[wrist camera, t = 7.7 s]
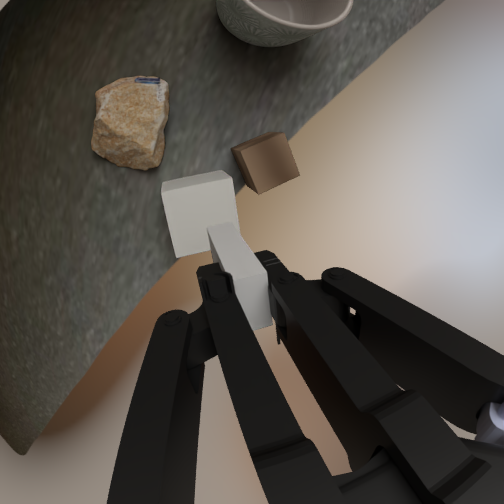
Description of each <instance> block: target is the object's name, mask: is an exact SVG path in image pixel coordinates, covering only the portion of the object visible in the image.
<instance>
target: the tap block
mask: <svg viewBox="0 0 504 504" xmlns="http://www.w3.org/2000/svg"><path fill="white" fill-rule="evenodd" d="M161 195H162V200H163V204H164V209H165V213H166V218H167V222H168V226H169V231H170V235H171V239H172V243H173V247H174V251H175V255H176V258H179V257H183V256H187V255H192V254H196V253H201V252H205V251H209V250H211V248H210V243H209V238H208V233H207V228H206V227H210V226H214V225H219V224H223V223H228V222H232V224H233V225H234V226H235V228H236V229H237V231H238V232H239V233H240V228H239V221H238V214H237V208H236V201H235V194H234V187H233V180H232V177H231V176H229V175H228V174H227V173H225V172H224V171H223V170H219V171H214V172H209V173H204V174H199V175H194V176H189V177H184V178H179V179H175V180H170V181H166V182H163V183H162V189H161Z"/></svg>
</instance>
